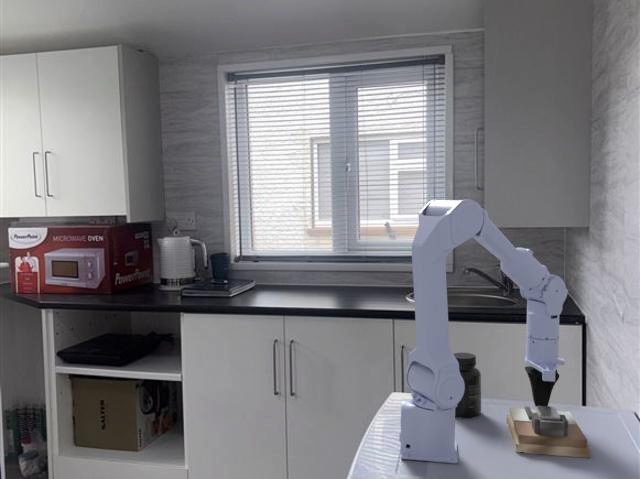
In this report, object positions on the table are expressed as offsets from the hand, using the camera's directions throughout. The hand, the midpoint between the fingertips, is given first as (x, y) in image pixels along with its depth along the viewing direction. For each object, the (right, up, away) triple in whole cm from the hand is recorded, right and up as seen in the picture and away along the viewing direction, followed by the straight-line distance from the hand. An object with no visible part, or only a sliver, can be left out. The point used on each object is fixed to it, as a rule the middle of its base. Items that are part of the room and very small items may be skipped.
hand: (540, 406), depth 107 cm
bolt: (-1, -2, -7) cm, 7 cm away
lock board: (-1, -5, -5) cm, 7 cm away
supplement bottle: (-13, -4, +8) cm, 16 cm away
